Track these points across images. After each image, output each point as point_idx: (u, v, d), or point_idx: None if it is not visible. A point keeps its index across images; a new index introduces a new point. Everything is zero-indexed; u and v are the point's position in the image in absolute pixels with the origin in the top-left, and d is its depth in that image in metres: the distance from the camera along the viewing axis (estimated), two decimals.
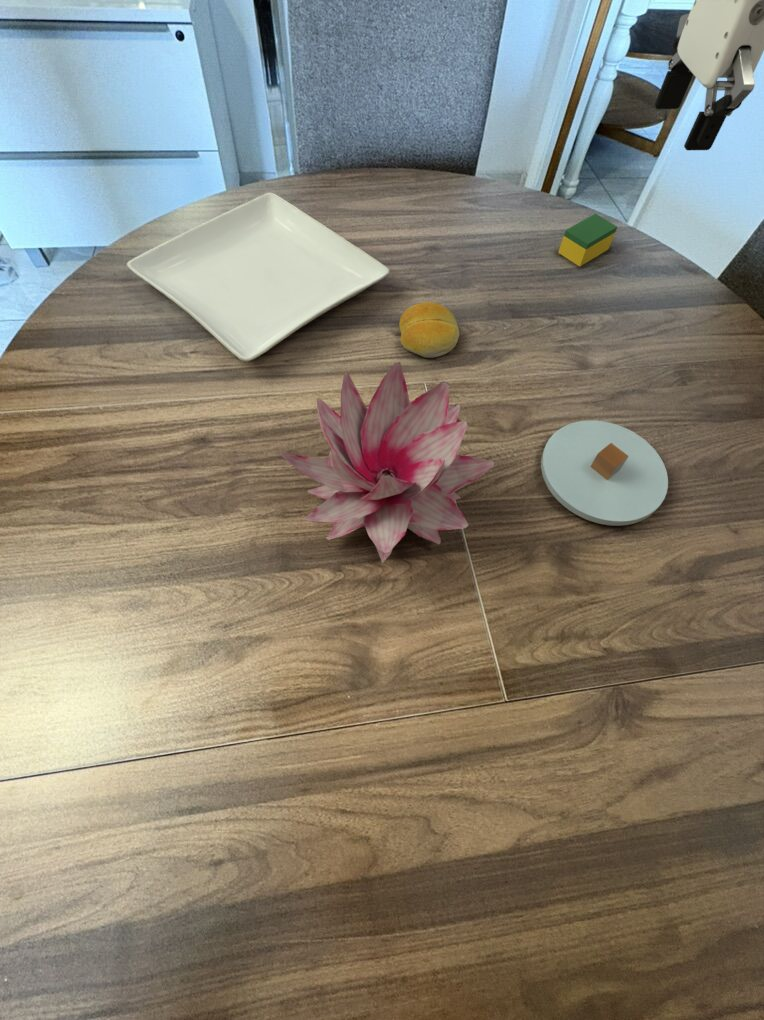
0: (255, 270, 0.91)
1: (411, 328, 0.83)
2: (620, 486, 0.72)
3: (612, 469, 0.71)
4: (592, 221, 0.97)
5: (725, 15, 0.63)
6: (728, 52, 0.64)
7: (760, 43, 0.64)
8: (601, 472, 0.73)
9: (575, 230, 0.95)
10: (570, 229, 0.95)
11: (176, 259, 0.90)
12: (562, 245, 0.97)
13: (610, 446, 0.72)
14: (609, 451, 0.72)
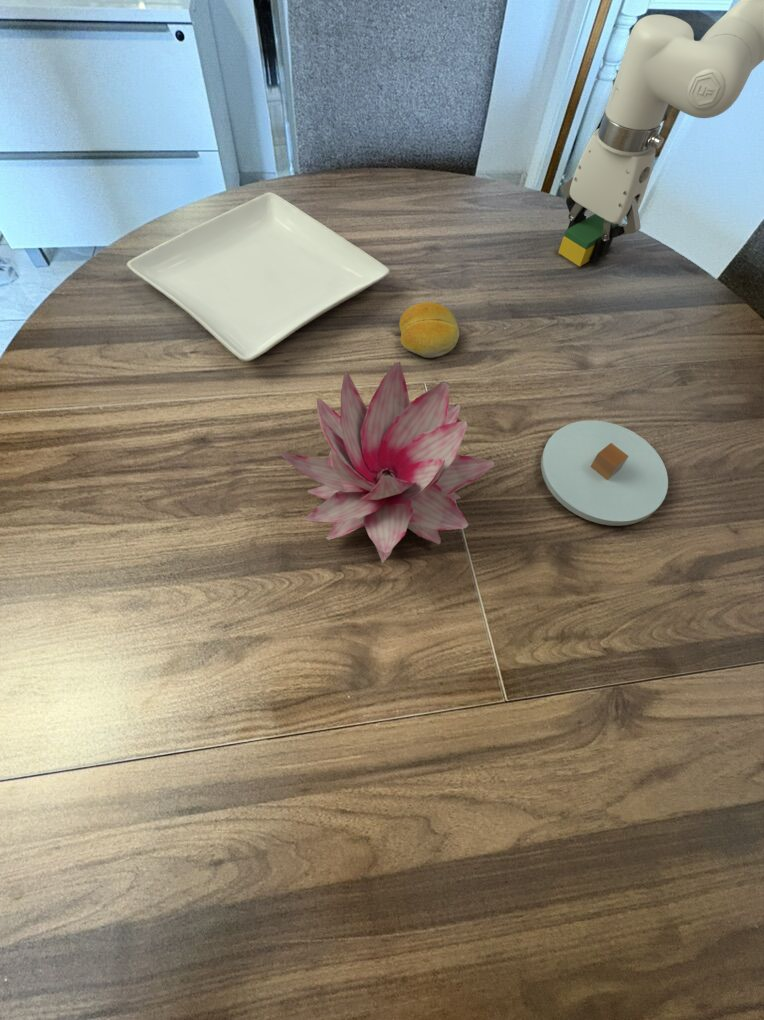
0: (255, 270, 0.91)
1: (411, 328, 0.83)
2: (620, 486, 0.72)
3: (612, 469, 0.71)
4: (592, 221, 0.97)
5: (620, 181, 0.86)
6: (628, 202, 0.88)
7: (644, 189, 0.88)
8: (601, 472, 0.73)
9: (575, 230, 0.95)
10: (570, 229, 0.95)
11: (176, 259, 0.90)
12: (562, 245, 0.97)
13: (610, 446, 0.72)
14: (609, 451, 0.72)
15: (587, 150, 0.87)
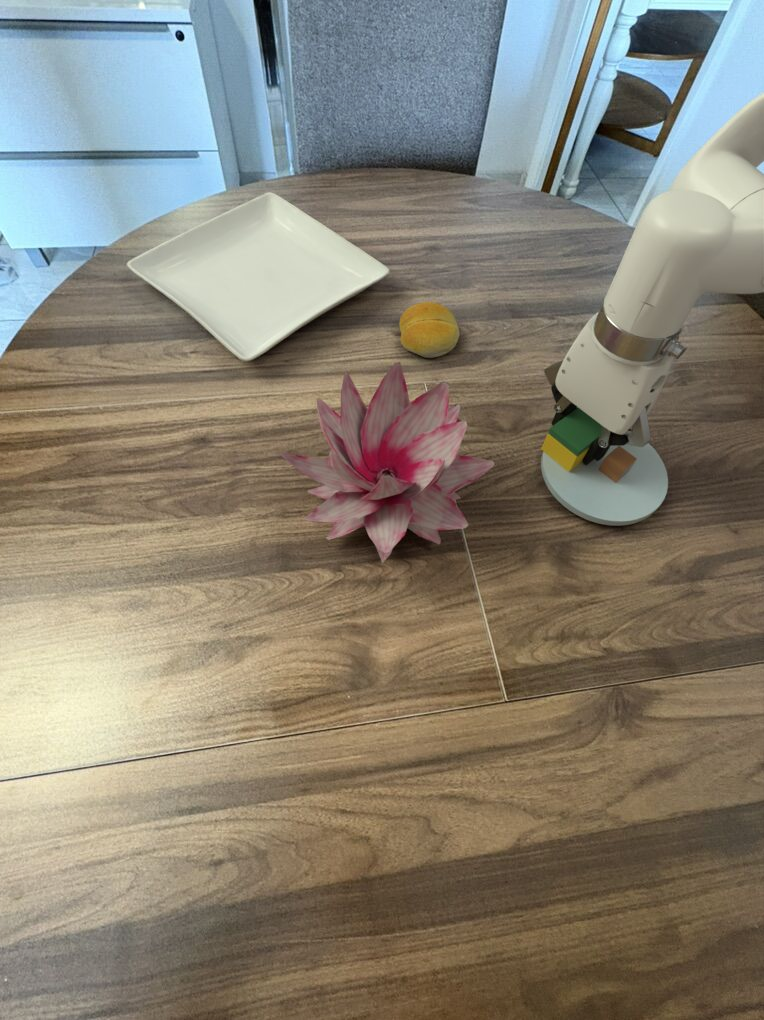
0: (255, 270, 0.91)
1: (411, 328, 0.83)
2: (620, 486, 0.72)
3: (621, 472, 0.71)
4: None
5: (624, 390, 0.62)
6: (635, 414, 0.63)
7: (657, 396, 0.64)
8: (610, 475, 0.72)
9: (563, 428, 0.71)
10: (556, 426, 0.71)
11: (176, 259, 0.90)
12: (546, 443, 0.73)
13: (618, 449, 0.72)
14: (617, 454, 0.71)
15: (579, 343, 0.63)
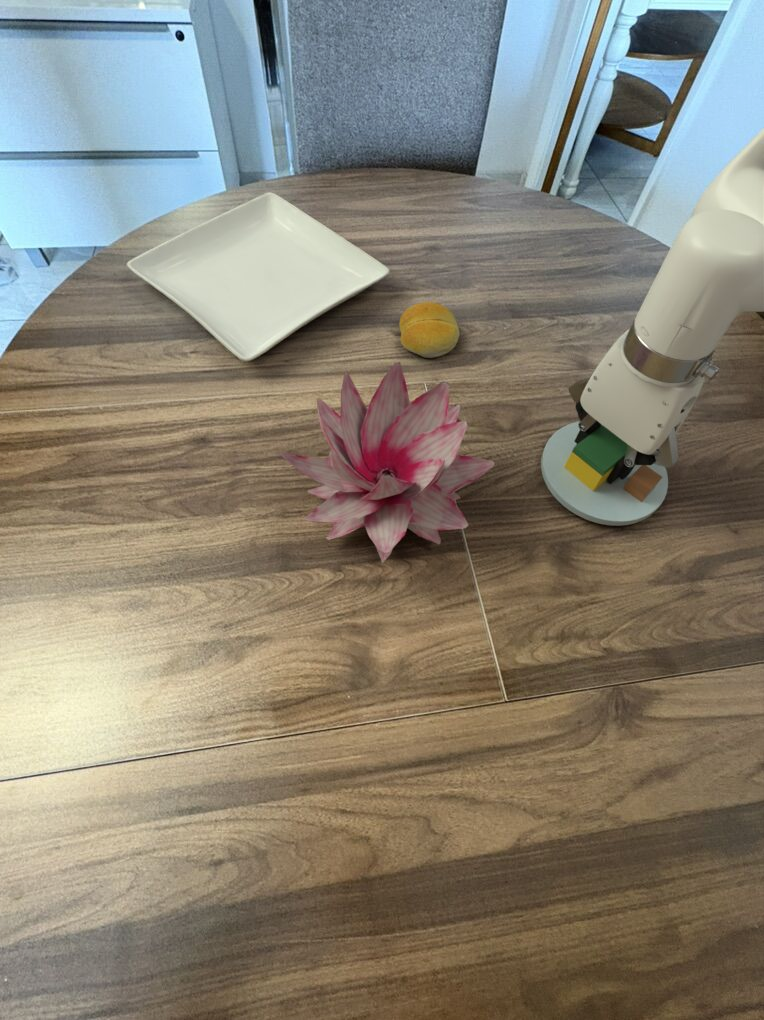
0: (255, 270, 0.91)
1: (411, 328, 0.83)
2: (620, 486, 0.72)
3: (647, 491, 0.69)
4: None
5: (653, 411, 0.61)
6: (664, 435, 0.62)
7: (686, 416, 0.63)
8: (635, 494, 0.71)
9: (587, 446, 0.70)
10: (581, 445, 0.70)
11: (176, 259, 0.90)
12: (569, 461, 0.72)
13: (643, 467, 0.71)
14: (642, 473, 0.70)
15: (607, 362, 0.62)
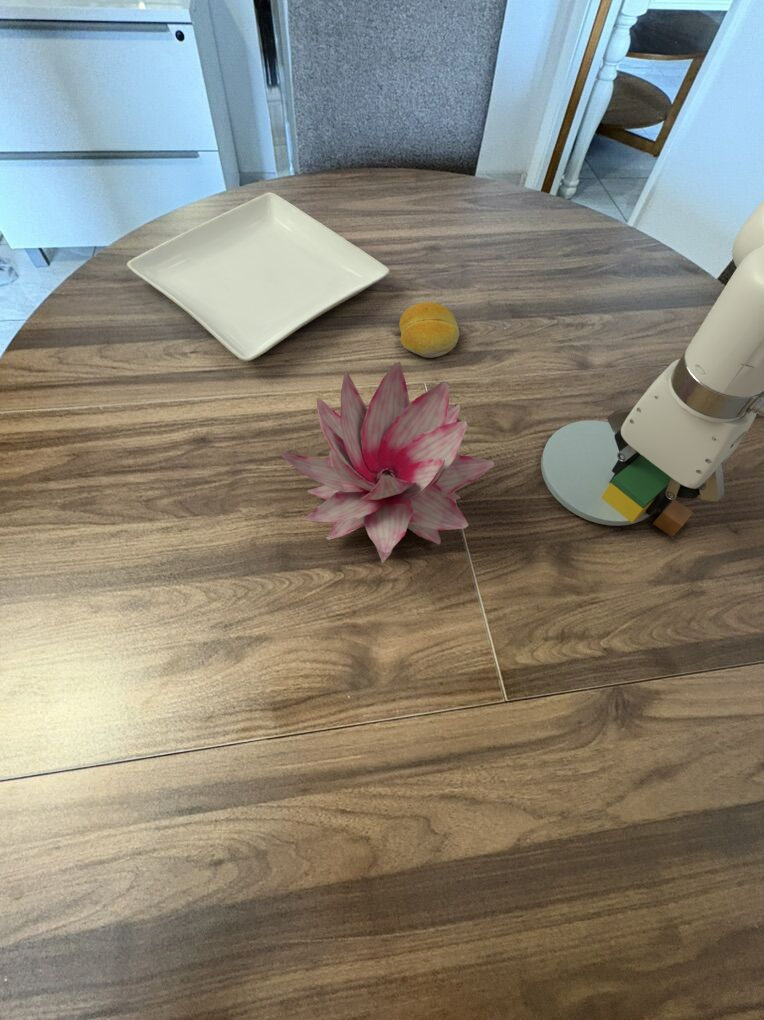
0: (255, 270, 0.91)
1: (411, 328, 0.83)
2: None
3: (668, 533, 0.71)
4: None
5: (702, 445, 0.58)
6: (712, 470, 0.60)
7: (734, 450, 0.60)
8: (660, 521, 0.70)
9: (627, 478, 0.68)
10: (620, 476, 0.68)
11: (176, 259, 0.90)
12: (607, 492, 0.70)
13: (690, 516, 0.70)
14: None
15: (652, 394, 0.60)
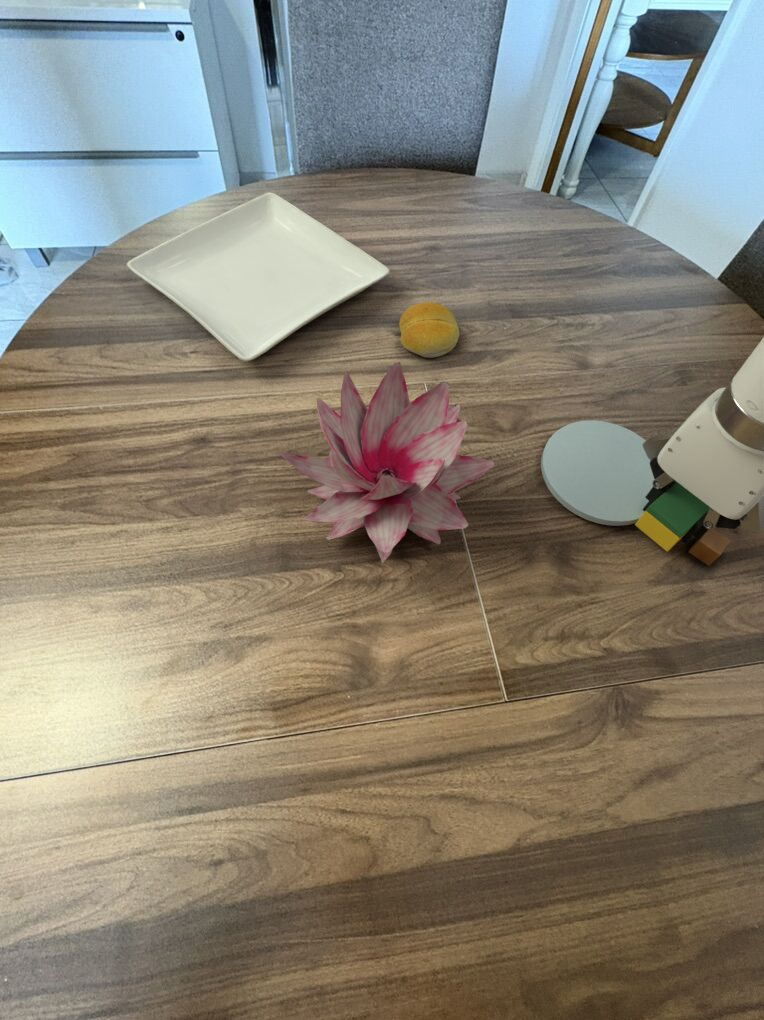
0: (255, 270, 0.91)
1: (411, 328, 0.83)
2: (620, 486, 0.72)
3: (704, 562, 0.69)
4: None
5: (746, 477, 0.57)
6: (755, 502, 0.58)
7: None
8: (696, 550, 0.69)
9: (663, 506, 0.66)
10: (656, 504, 0.66)
11: (176, 259, 0.90)
12: (642, 520, 0.68)
13: None
14: None
15: (694, 424, 0.58)
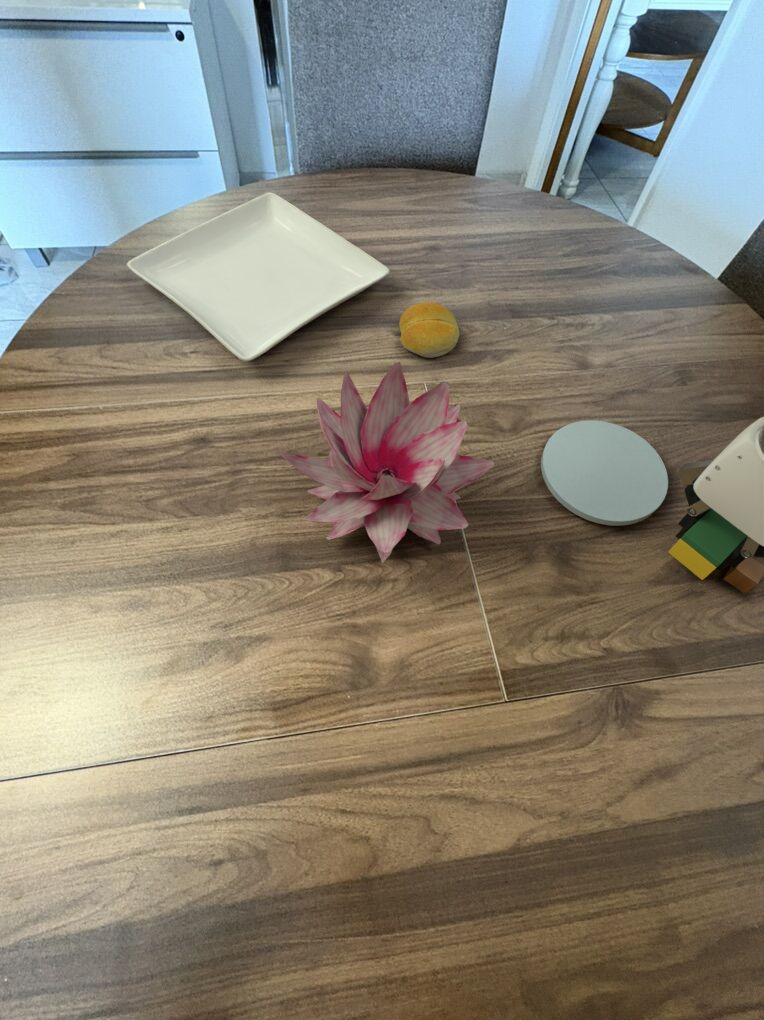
0: (255, 270, 0.91)
1: (411, 328, 0.83)
2: (620, 486, 0.72)
3: (740, 589, 0.67)
4: None
5: None
6: None
7: None
8: (732, 577, 0.67)
9: (699, 534, 0.64)
10: (691, 532, 0.65)
11: (176, 259, 0.90)
12: (676, 547, 0.66)
13: None
14: None
15: (735, 454, 0.57)
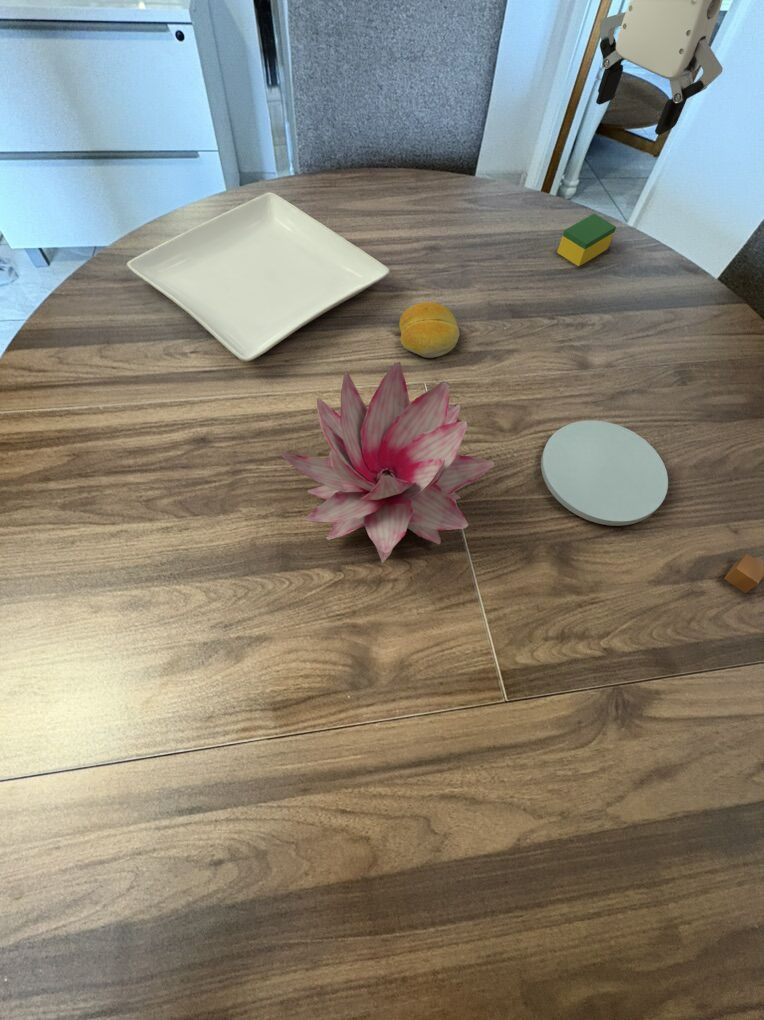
0: (255, 270, 0.91)
1: (411, 328, 0.83)
2: (620, 486, 0.72)
3: (741, 589, 0.67)
4: (591, 221, 0.97)
5: (683, 16, 0.70)
6: (692, 46, 0.72)
7: (711, 31, 0.72)
8: (733, 577, 0.67)
9: (574, 230, 0.95)
10: (569, 229, 0.95)
11: (176, 259, 0.90)
12: (561, 245, 0.97)
13: None
14: None
15: None
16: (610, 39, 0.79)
